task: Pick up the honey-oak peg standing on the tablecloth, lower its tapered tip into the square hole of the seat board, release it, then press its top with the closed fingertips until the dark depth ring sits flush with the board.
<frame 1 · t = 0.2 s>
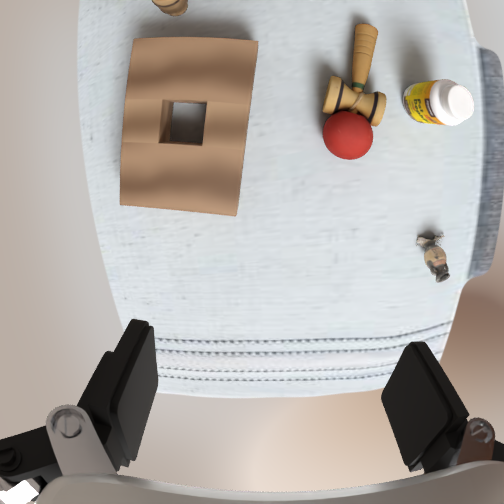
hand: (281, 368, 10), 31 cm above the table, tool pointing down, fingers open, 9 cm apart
supplement bottle: (417, 103, 34), on the table
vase: (426, 252, 42), on the table
kendama: (349, 89, 34), on the table
oak peg: (176, 7, 29), on the table
seat board: (191, 122, 36), on the table
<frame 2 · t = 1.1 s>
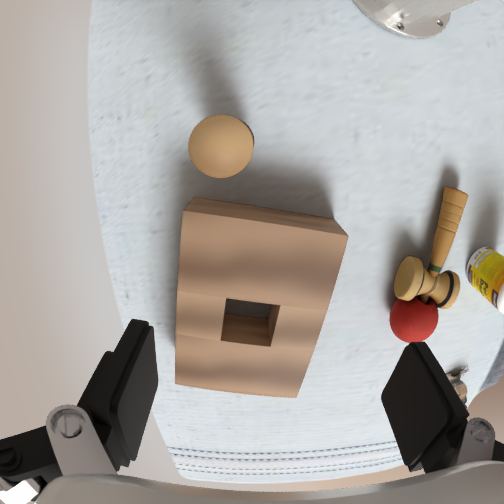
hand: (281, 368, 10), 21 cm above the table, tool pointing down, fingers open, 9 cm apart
supplement bottle: (478, 264, 33), on the table
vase: (450, 381, 41), on the table
kendama: (422, 258, 33), on the table
oak peg: (233, 140, 28), on the table
seat board: (249, 297, 34), on the table
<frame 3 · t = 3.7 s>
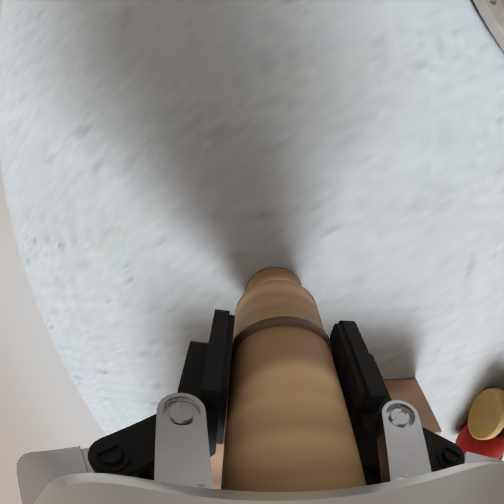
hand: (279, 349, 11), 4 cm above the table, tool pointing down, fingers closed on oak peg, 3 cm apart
kendama: (502, 378, 20), on the table
oak peg: (273, 293, 15), on the table, touching gripper
seat board: (290, 457, 22), on the table
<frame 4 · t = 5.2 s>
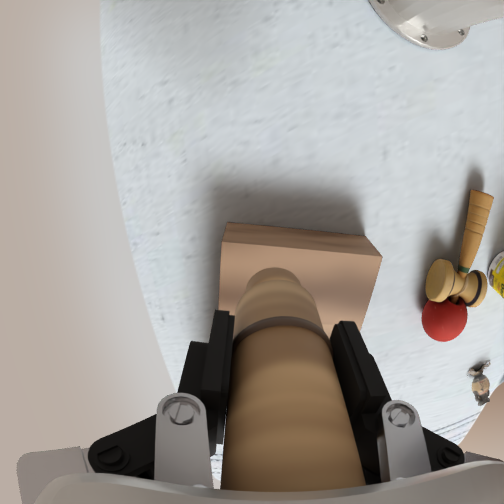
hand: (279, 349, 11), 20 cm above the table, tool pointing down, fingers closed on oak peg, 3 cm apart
supplement bottle: (499, 267, 32), on the table
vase: (473, 375, 40), on the table
kendama: (450, 259, 32), on the table
oak peg: (273, 292, 15), point 15 cm above the table, touching gripper
seat board: (285, 313, 34), on the table
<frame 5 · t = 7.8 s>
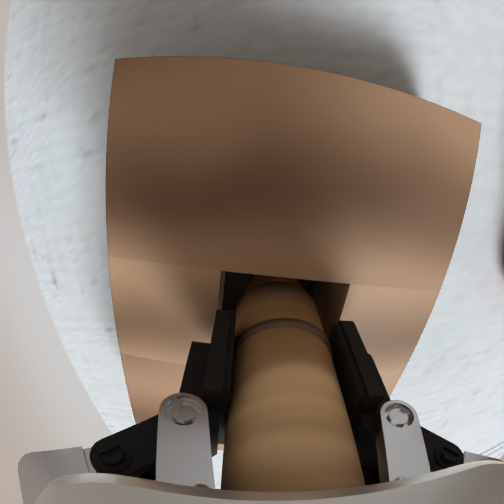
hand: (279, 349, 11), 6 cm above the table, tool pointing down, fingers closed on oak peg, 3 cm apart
oak peg: (273, 294, 15), point 2 cm above the table, touching gripper
seat board: (271, 276, 17), on the table
when the fingers open (6 cm above the table, at t = 7.8 s): oak peg drops 2 cm, resting in seat board.
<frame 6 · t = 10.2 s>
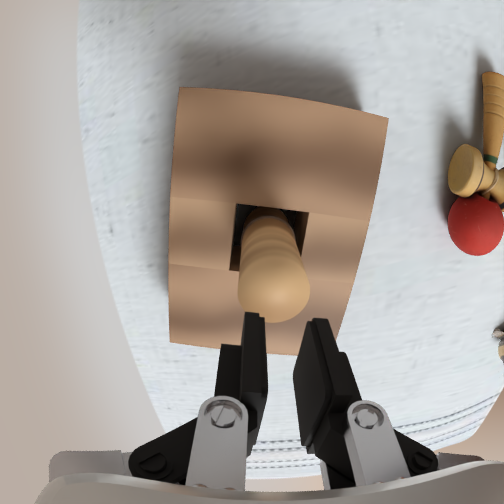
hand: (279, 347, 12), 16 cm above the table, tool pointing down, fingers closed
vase: (498, 339, 33), on the table
kendama: (472, 156, 24), on the table
oak peg: (265, 220, 26), resting in seat board
seat board: (265, 221, 26), on the table
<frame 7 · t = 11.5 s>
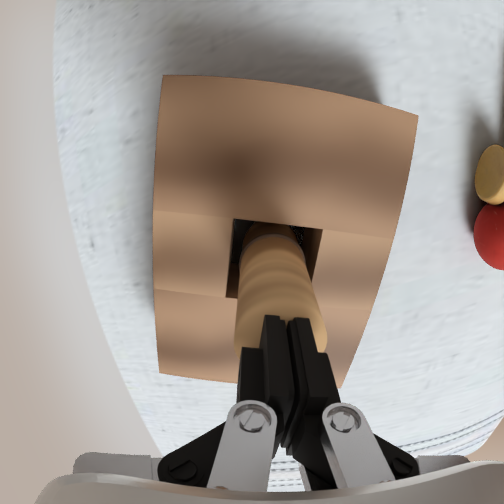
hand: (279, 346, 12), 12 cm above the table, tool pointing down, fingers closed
kendama: (499, 158, 20), on the table
oak peg: (268, 234, 23), resting in seat board, touching gripper
seat board: (268, 235, 23), on the table
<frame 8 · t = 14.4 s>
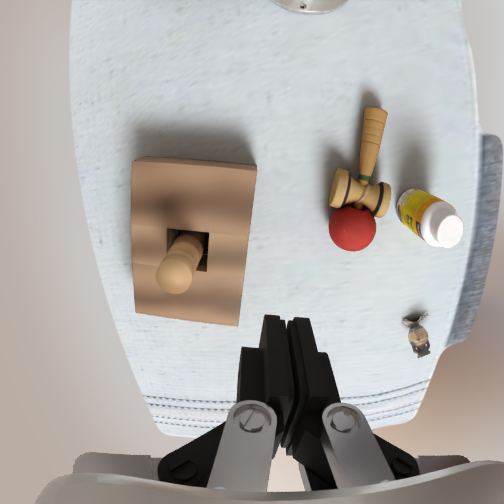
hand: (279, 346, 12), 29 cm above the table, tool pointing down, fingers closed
supplement bottle: (411, 206, 39), on the table
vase: (412, 328, 47), on the table
kendama: (355, 175, 38), on the table
oak peg: (194, 235, 41), resting in seat board
seat board: (194, 235, 41), on the table
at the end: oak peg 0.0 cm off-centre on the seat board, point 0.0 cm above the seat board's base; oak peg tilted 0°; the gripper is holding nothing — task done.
